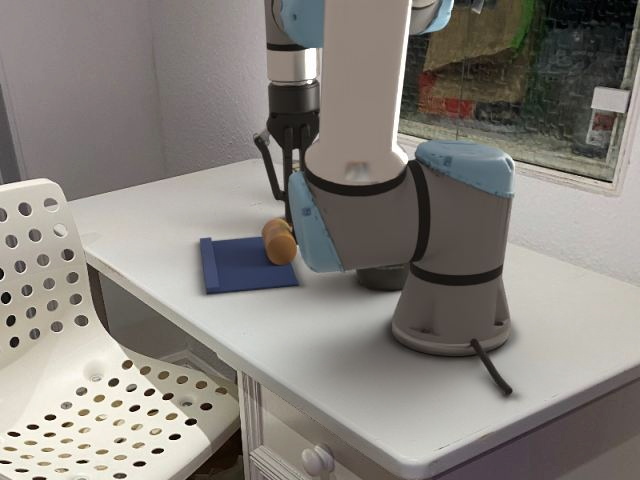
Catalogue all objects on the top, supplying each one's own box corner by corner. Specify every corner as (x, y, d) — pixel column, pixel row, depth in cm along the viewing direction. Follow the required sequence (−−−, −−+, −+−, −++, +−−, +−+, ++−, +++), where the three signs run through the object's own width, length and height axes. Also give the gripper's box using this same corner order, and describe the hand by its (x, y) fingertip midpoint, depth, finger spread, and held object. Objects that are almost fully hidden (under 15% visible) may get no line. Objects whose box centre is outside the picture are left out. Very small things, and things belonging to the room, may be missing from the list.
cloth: (298, 285, 124) (298, 279, 123) (207, 294, 123) (206, 288, 123) (280, 236, 141) (280, 230, 141) (200, 243, 141) (199, 238, 140)
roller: (285, 270, 130) (303, 245, 128) (261, 255, 128) (278, 229, 126) (279, 253, 137) (296, 228, 135) (256, 237, 135) (272, 212, 133)
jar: (424, 268, 126) (428, 218, 121) (417, 294, 119) (420, 242, 114) (360, 265, 129) (361, 216, 124) (349, 290, 121) (349, 239, 116)
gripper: (333, 71, 121) (333, 230, 135) (246, 79, 120) (256, 237, 135) (342, 81, 115) (341, 246, 129) (251, 89, 114) (260, 254, 129)
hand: (298, 241), depth 132 cm, fingers closed
